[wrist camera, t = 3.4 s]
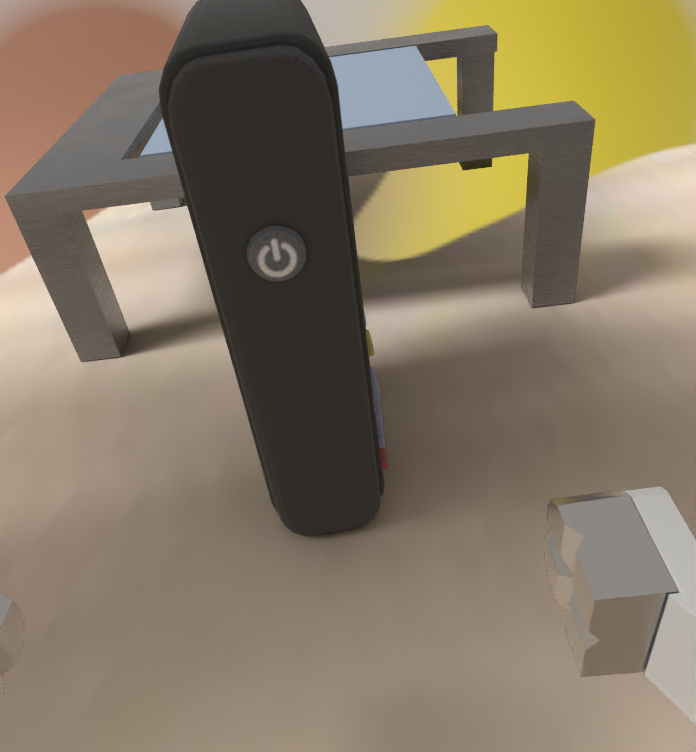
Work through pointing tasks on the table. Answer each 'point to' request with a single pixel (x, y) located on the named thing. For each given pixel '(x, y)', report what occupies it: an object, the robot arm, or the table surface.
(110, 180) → the stand
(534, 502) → the table surface
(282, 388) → the card reader
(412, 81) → the trapdoor
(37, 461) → the table surface
